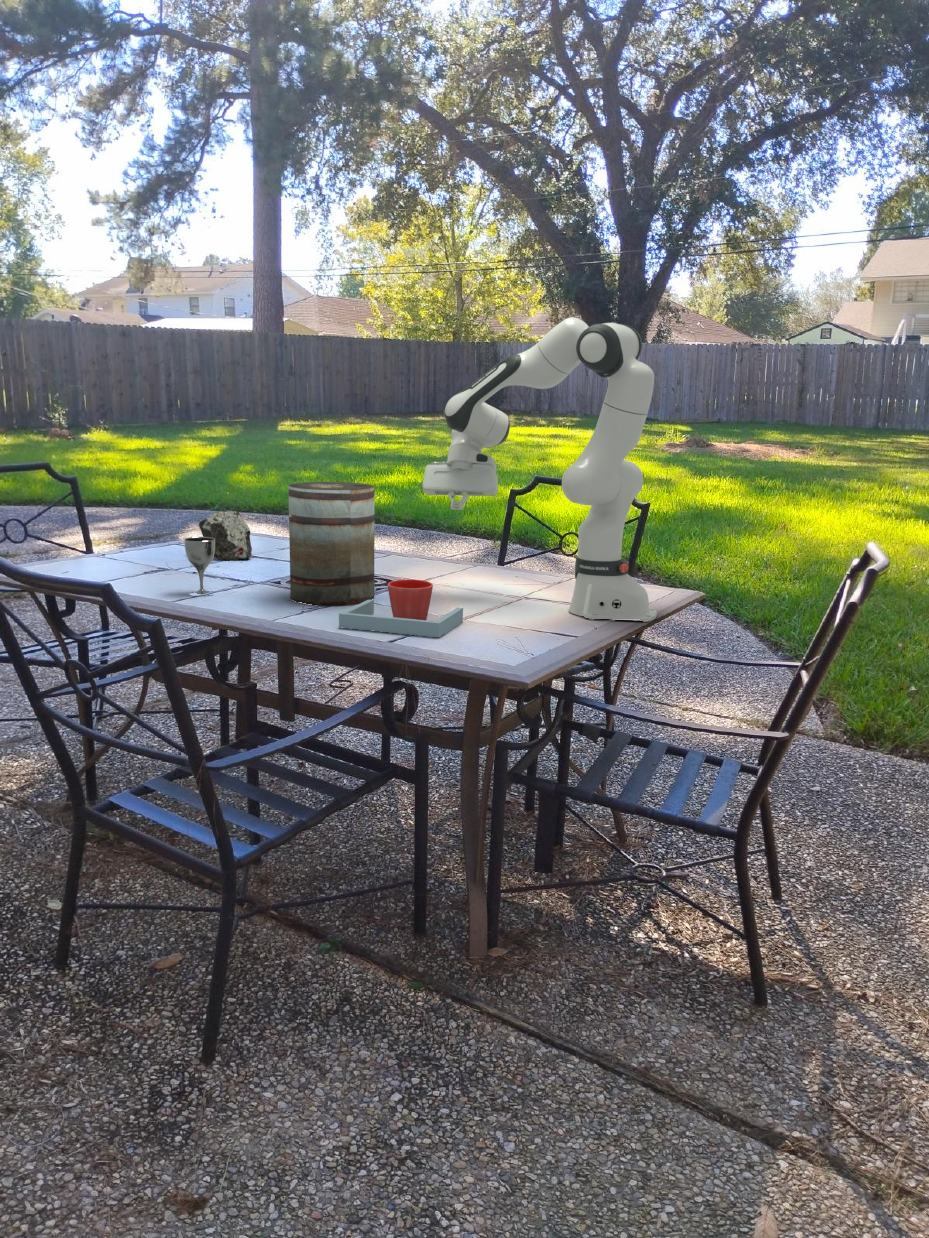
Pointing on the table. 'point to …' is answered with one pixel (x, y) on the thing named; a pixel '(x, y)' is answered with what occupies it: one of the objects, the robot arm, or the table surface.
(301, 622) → the table surface
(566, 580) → the table surface
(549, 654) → the table surface
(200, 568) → the silver goblet
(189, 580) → the table surface
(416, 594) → the flower pot
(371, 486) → the barrel
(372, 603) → the tray frame
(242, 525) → the stone
